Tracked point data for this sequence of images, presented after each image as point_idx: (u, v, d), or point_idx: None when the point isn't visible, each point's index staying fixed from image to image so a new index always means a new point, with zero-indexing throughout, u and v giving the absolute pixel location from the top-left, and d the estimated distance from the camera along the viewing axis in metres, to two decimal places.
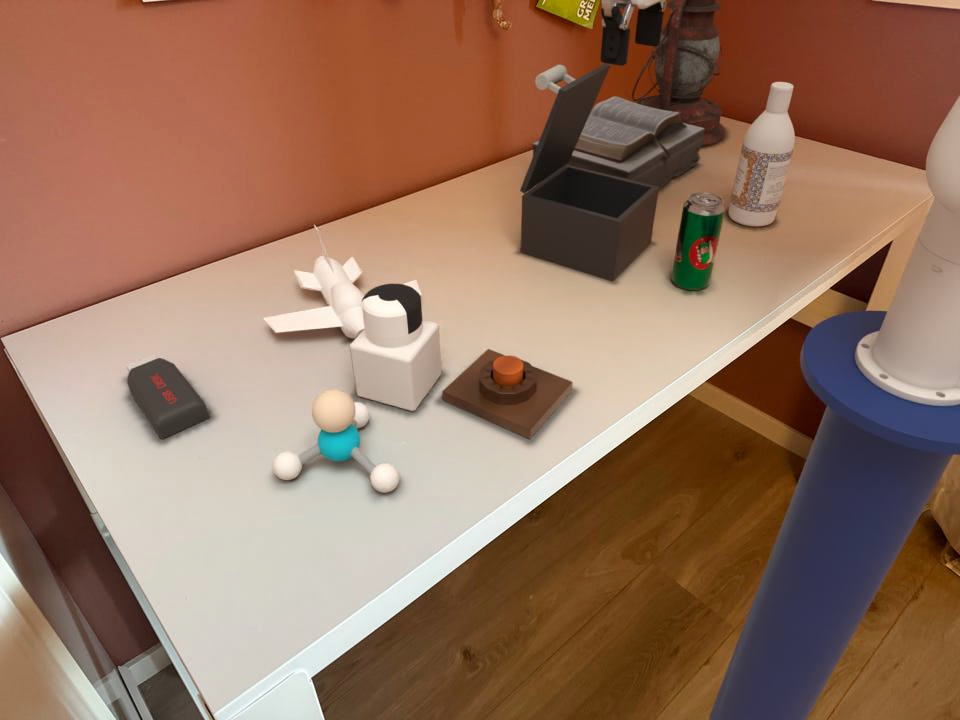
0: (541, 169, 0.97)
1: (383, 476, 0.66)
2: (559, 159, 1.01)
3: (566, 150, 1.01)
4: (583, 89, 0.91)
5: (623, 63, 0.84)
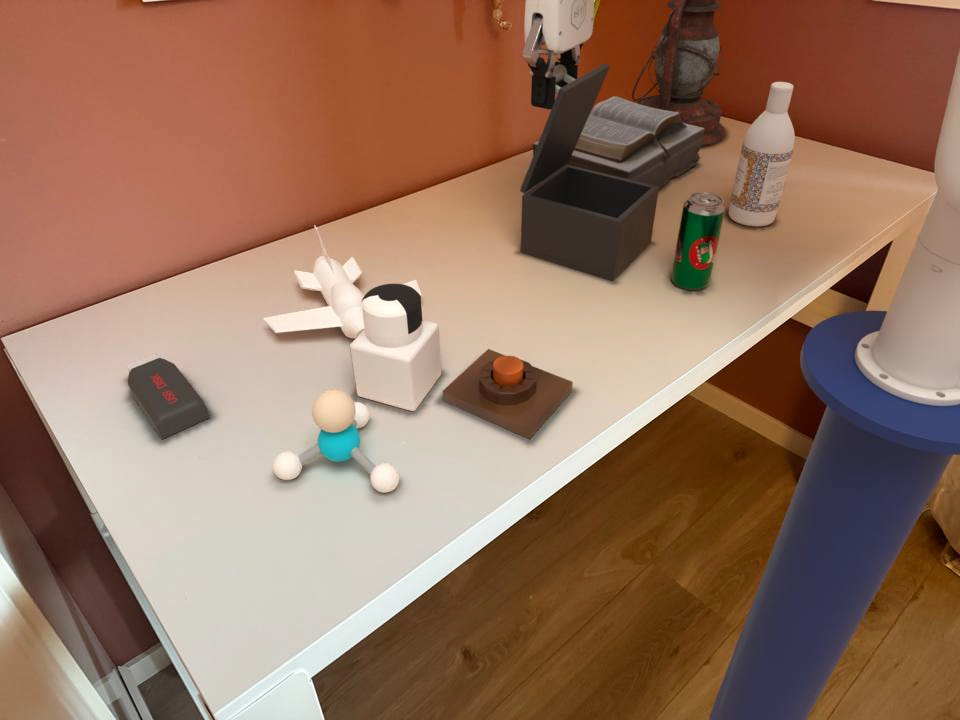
0: (541, 169, 0.97)
1: (383, 476, 0.66)
2: (559, 159, 1.01)
3: (566, 150, 1.01)
4: (583, 89, 0.91)
5: (551, 107, 0.92)
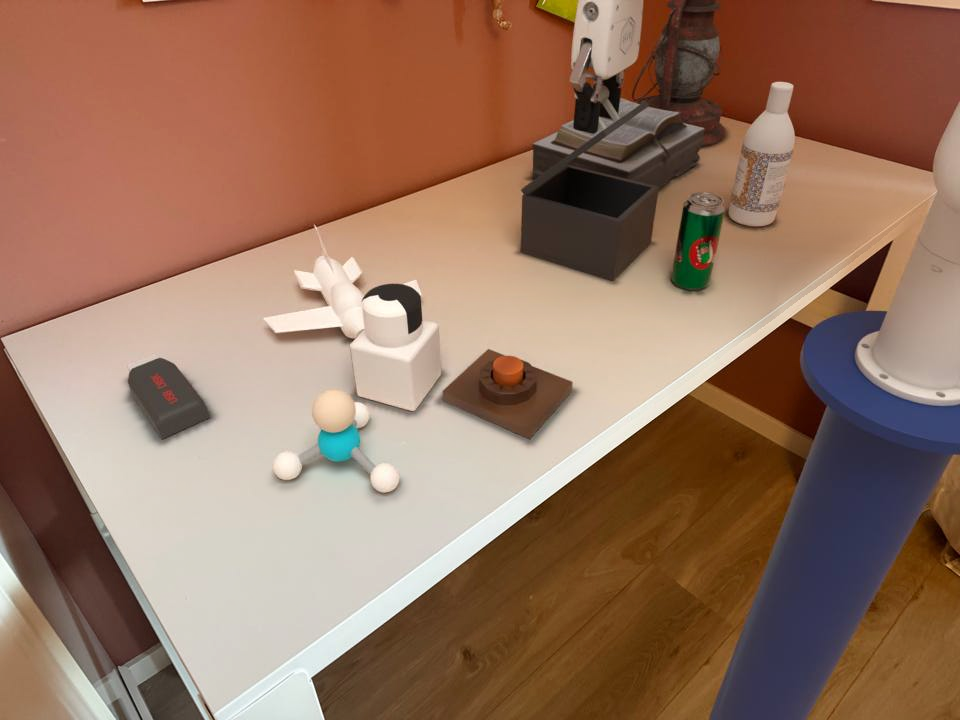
0: None
1: (383, 476, 0.66)
2: None
3: None
4: None
5: (594, 131, 0.90)
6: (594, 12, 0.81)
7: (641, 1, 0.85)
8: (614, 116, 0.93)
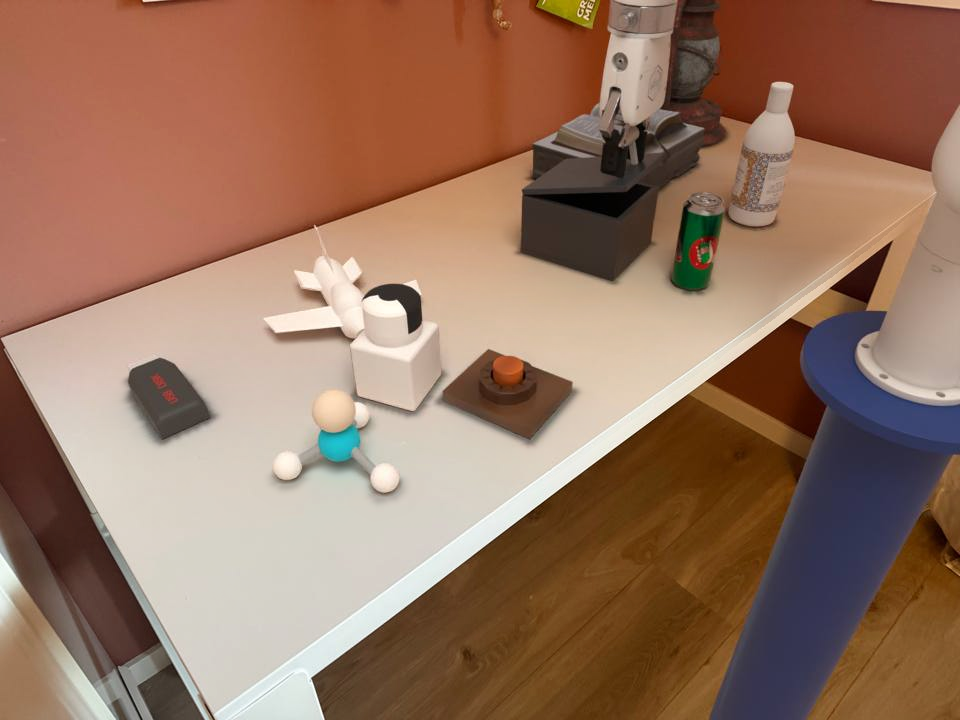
0: None
1: (383, 476, 0.66)
2: None
3: None
4: None
5: (621, 175, 0.91)
6: (623, 62, 0.82)
7: (668, 49, 0.86)
8: (634, 159, 0.94)
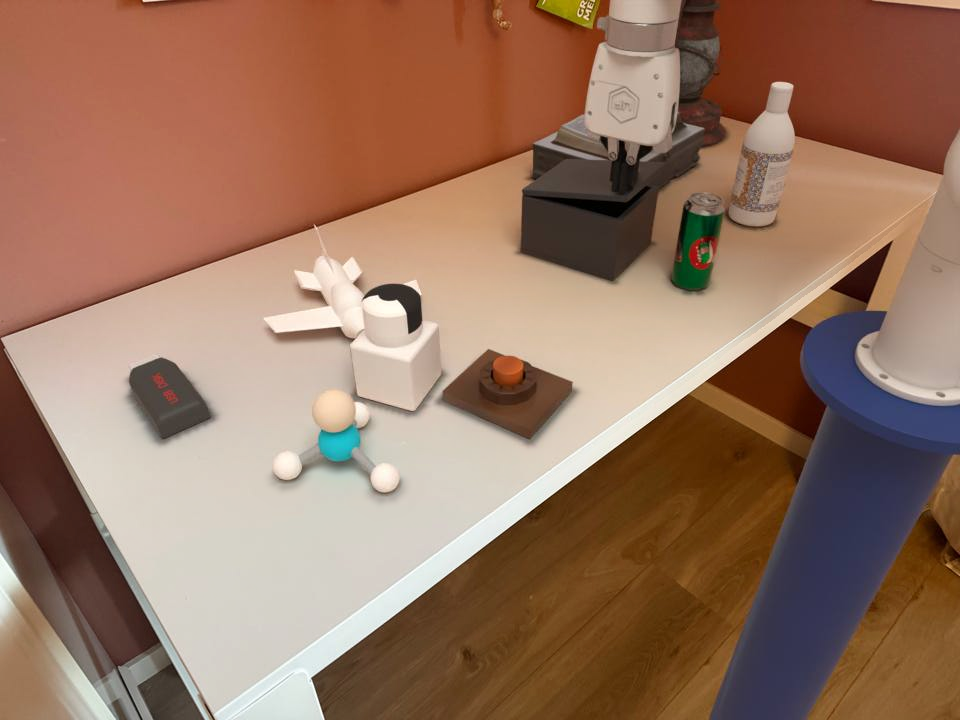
0: None
1: (383, 475, 0.66)
2: None
3: None
4: None
5: (611, 189, 0.90)
6: None
7: (654, 81, 0.78)
8: None
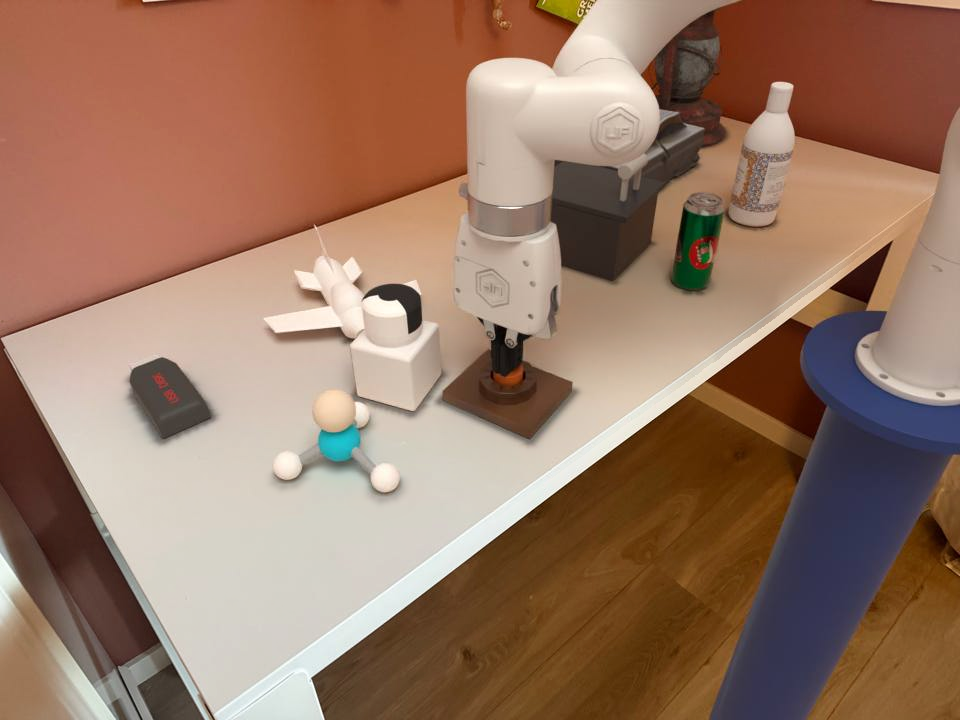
0: None
1: (383, 475, 0.66)
2: None
3: None
4: None
5: None
6: None
7: (524, 268, 0.64)
8: (636, 185, 0.96)
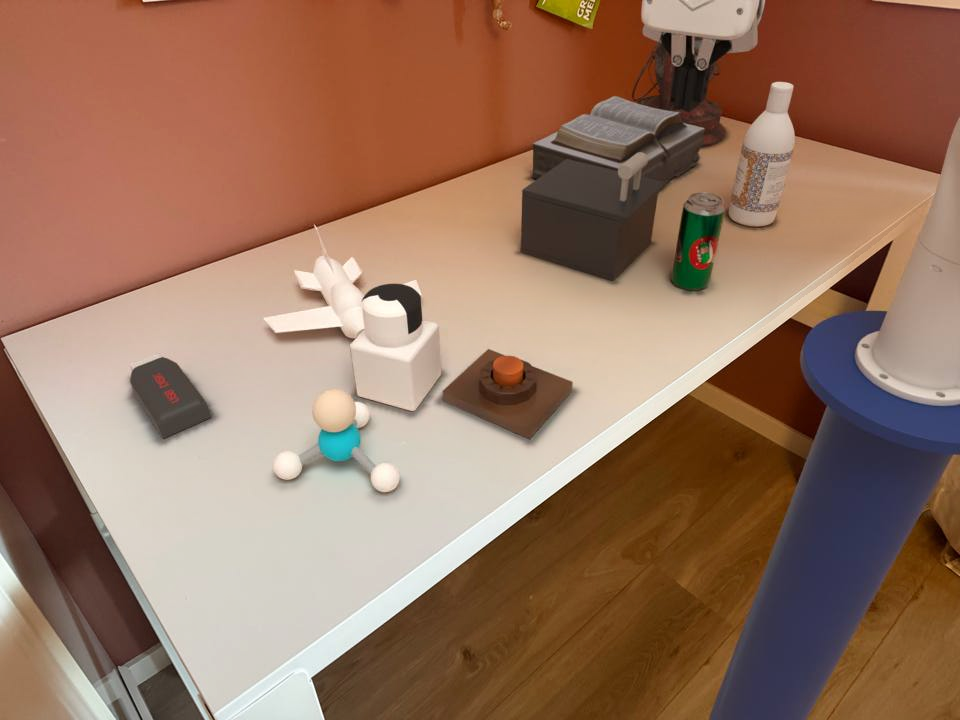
0: None
1: (383, 475, 0.66)
2: None
3: None
4: None
5: (674, 106, 0.70)
6: None
7: None
8: (636, 185, 0.96)
